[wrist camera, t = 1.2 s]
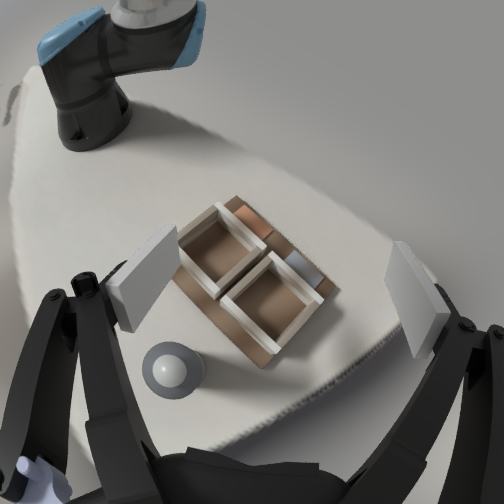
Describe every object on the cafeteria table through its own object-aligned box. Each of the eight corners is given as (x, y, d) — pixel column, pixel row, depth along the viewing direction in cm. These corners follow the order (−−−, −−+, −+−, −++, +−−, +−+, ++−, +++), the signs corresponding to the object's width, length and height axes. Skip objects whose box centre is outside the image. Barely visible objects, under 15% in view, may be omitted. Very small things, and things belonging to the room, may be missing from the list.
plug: (160, 366, 29) (127, 367, 17) (187, 341, 30) (170, 328, 19) (187, 393, 28) (169, 412, 16) (213, 368, 29) (213, 373, 18)
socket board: (157, 262, 33) (151, 250, 30) (236, 199, 38) (238, 182, 35) (260, 368, 30) (266, 369, 26) (332, 288, 35) (345, 278, 32)
